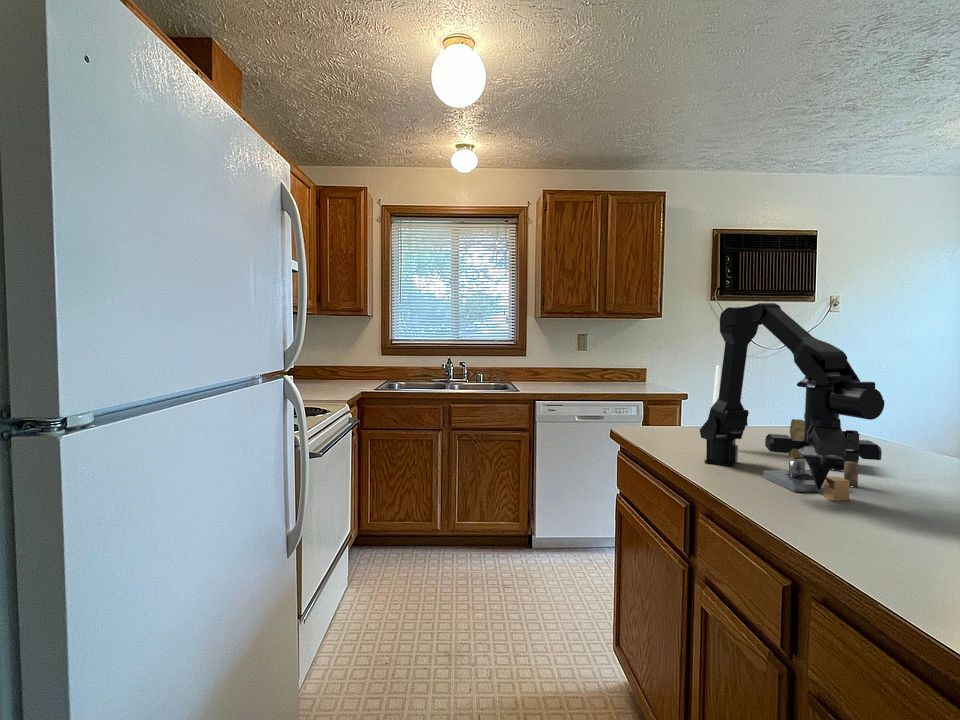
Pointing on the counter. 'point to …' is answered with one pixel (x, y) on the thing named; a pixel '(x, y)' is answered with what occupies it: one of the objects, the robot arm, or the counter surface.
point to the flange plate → (811, 484)
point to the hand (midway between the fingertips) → (818, 488)
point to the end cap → (848, 457)
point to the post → (797, 469)
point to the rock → (796, 435)
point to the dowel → (851, 473)
